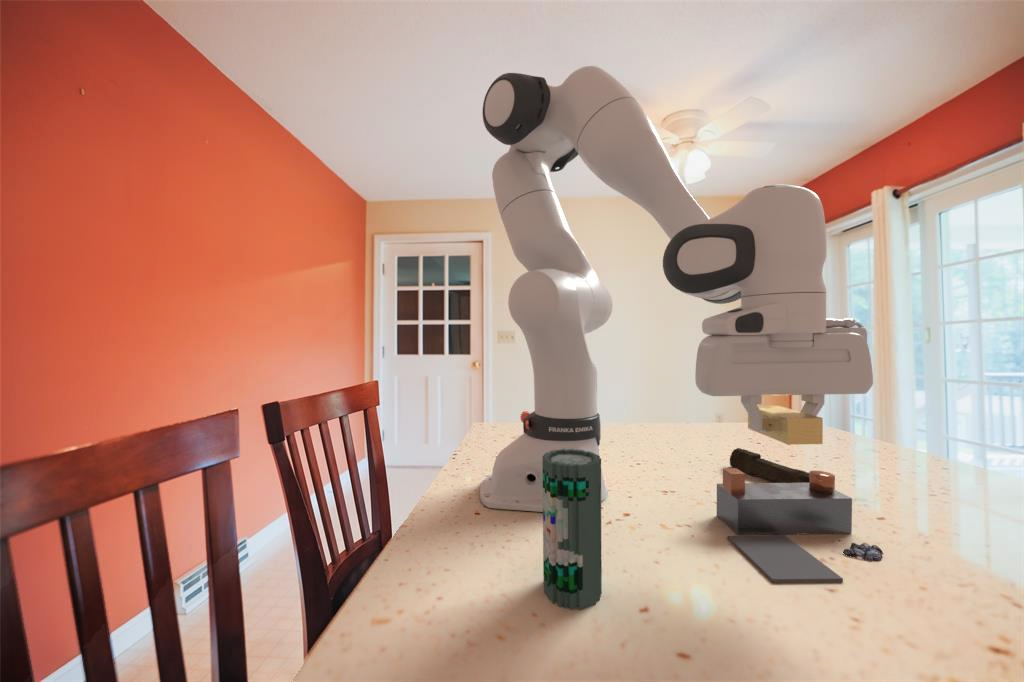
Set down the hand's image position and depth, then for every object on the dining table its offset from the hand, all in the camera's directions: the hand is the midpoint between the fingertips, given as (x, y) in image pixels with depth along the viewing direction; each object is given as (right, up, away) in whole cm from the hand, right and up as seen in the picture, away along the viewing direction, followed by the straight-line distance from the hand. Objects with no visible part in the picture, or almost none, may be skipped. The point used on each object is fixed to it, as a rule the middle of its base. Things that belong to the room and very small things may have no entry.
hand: (781, 430), depth 52 cm
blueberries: (+12, -17, +2) cm, 20 cm away
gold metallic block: (0, -1, 0) cm, 1 cm away
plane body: (+6, -16, +10) cm, 20 cm away
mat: (0, -16, +1) cm, 16 cm away
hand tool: (+15, -16, +26) cm, 34 cm away
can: (-27, -17, -6) cm, 32 cm away
